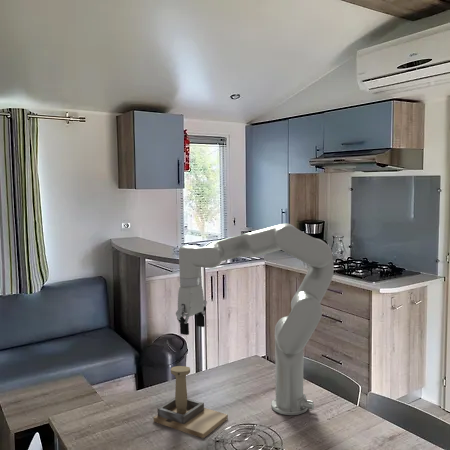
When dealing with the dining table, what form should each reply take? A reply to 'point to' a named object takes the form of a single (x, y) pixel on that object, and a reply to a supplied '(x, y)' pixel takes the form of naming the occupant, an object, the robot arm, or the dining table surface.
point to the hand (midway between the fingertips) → (192, 330)
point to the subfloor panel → (190, 418)
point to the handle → (180, 387)
